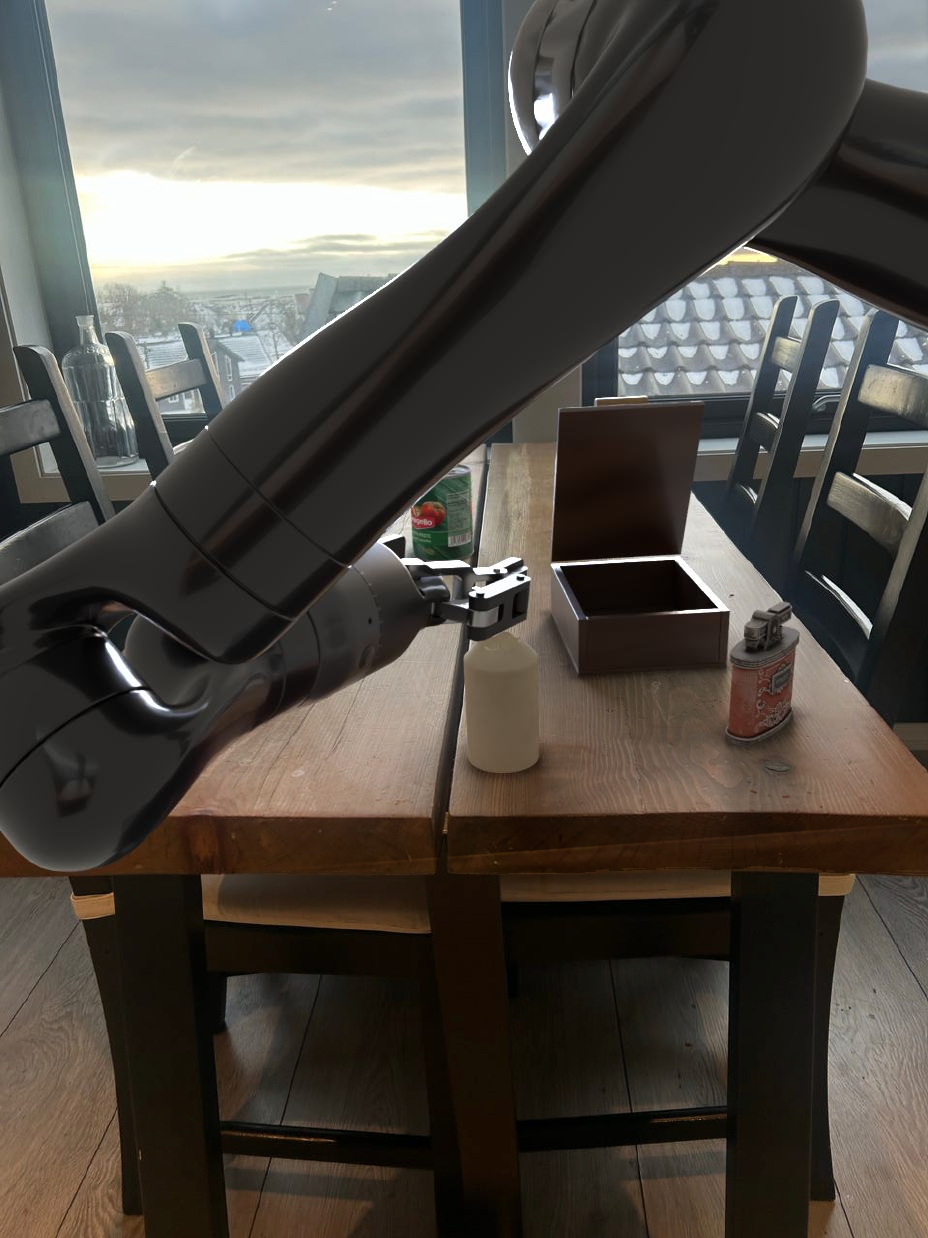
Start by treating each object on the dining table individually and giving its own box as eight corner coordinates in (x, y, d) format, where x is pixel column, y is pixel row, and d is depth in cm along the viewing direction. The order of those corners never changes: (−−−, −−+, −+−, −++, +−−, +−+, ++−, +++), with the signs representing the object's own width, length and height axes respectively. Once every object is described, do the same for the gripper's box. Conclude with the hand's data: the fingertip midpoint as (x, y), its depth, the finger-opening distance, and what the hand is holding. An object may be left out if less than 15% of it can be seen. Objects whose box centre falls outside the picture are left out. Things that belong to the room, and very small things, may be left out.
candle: (457, 770, 76) (451, 648, 72) (482, 738, 80) (478, 621, 77) (526, 781, 74) (523, 656, 70) (548, 747, 78) (547, 628, 75)
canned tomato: (401, 560, 127) (396, 474, 123) (430, 543, 133) (426, 461, 129) (458, 566, 123) (454, 478, 119) (484, 548, 130) (481, 464, 126)
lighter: (754, 753, 76) (763, 631, 73) (714, 741, 78) (721, 621, 75) (801, 716, 82) (812, 601, 78) (763, 705, 84) (771, 593, 80)
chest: (726, 670, 91) (730, 610, 89) (578, 680, 90) (578, 620, 88) (677, 608, 106) (679, 556, 104) (551, 616, 106) (550, 564, 104)
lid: (705, 404, 92) (691, 377, 96) (559, 412, 92) (551, 384, 96) (681, 554, 104) (669, 524, 108) (551, 562, 103) (543, 531, 107)
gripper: (443, 575, 47) (566, 522, 61) (203, 525, 52) (366, 487, 66) (432, 723, 49) (553, 639, 63) (203, 660, 55) (361, 596, 69)
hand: (457, 561), depth 65 cm, fingers open, 8 cm apart
